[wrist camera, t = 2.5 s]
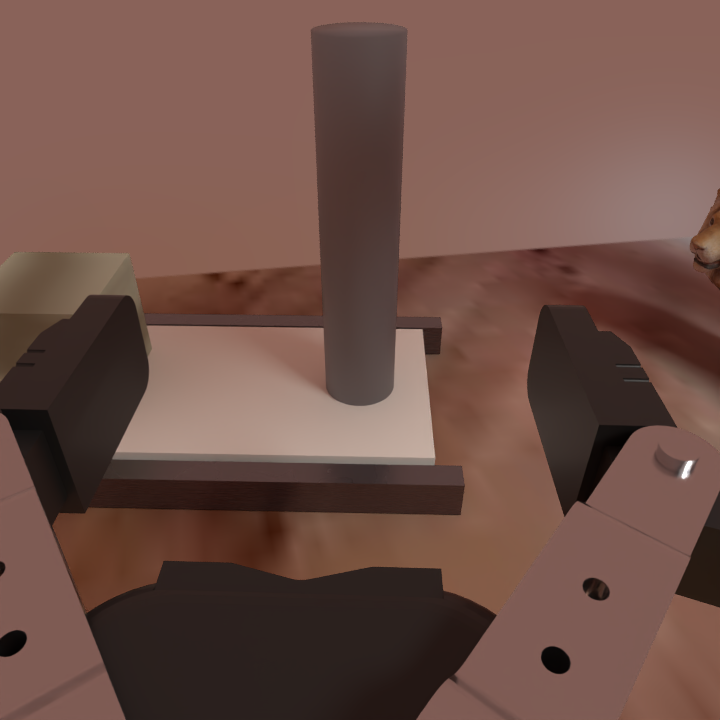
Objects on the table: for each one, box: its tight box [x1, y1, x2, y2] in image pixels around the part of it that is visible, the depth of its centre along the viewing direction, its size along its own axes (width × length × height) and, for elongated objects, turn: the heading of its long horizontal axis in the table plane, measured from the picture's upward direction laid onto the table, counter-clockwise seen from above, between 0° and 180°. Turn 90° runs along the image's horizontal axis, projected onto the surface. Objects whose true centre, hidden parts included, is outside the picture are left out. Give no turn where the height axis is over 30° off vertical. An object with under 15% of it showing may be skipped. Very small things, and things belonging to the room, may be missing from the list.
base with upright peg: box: [112, 22, 435, 465], centre depth 24 cm, size 20×9×16 cm, turn 88°
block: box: [0, 252, 152, 382], centre depth 27 cm, size 5×5×5 cm
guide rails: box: [88, 313, 465, 515], centre depth 28 cm, size 16×12×2 cm
